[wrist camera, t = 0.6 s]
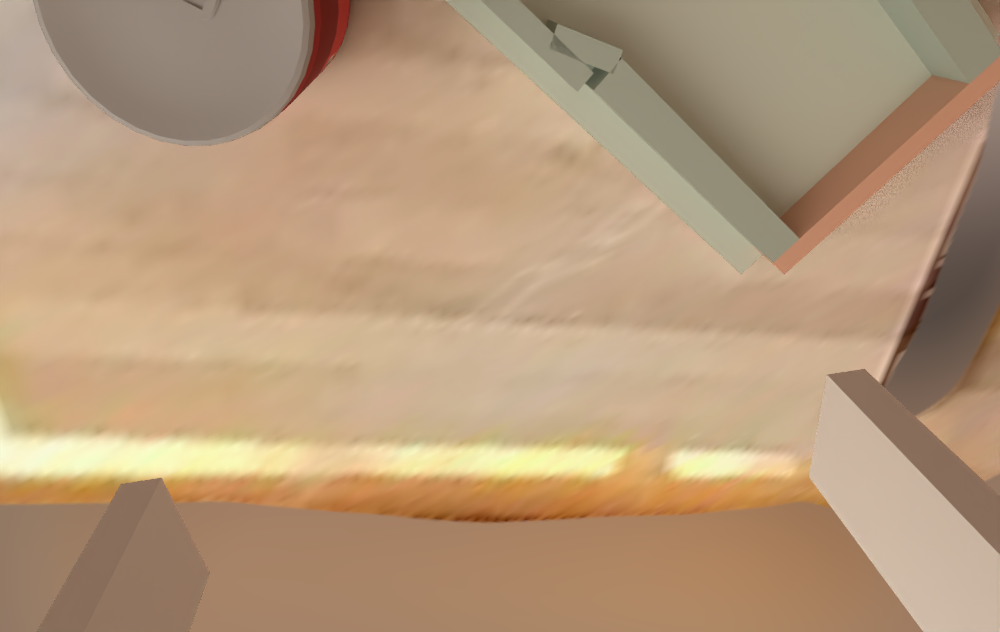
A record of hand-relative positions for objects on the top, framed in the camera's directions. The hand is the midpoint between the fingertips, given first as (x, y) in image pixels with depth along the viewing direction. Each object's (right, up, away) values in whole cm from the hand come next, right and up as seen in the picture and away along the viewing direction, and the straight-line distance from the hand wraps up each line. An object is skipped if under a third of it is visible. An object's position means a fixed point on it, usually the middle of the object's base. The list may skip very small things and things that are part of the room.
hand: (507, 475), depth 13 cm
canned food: (-10, +17, +15) cm, 25 cm away
